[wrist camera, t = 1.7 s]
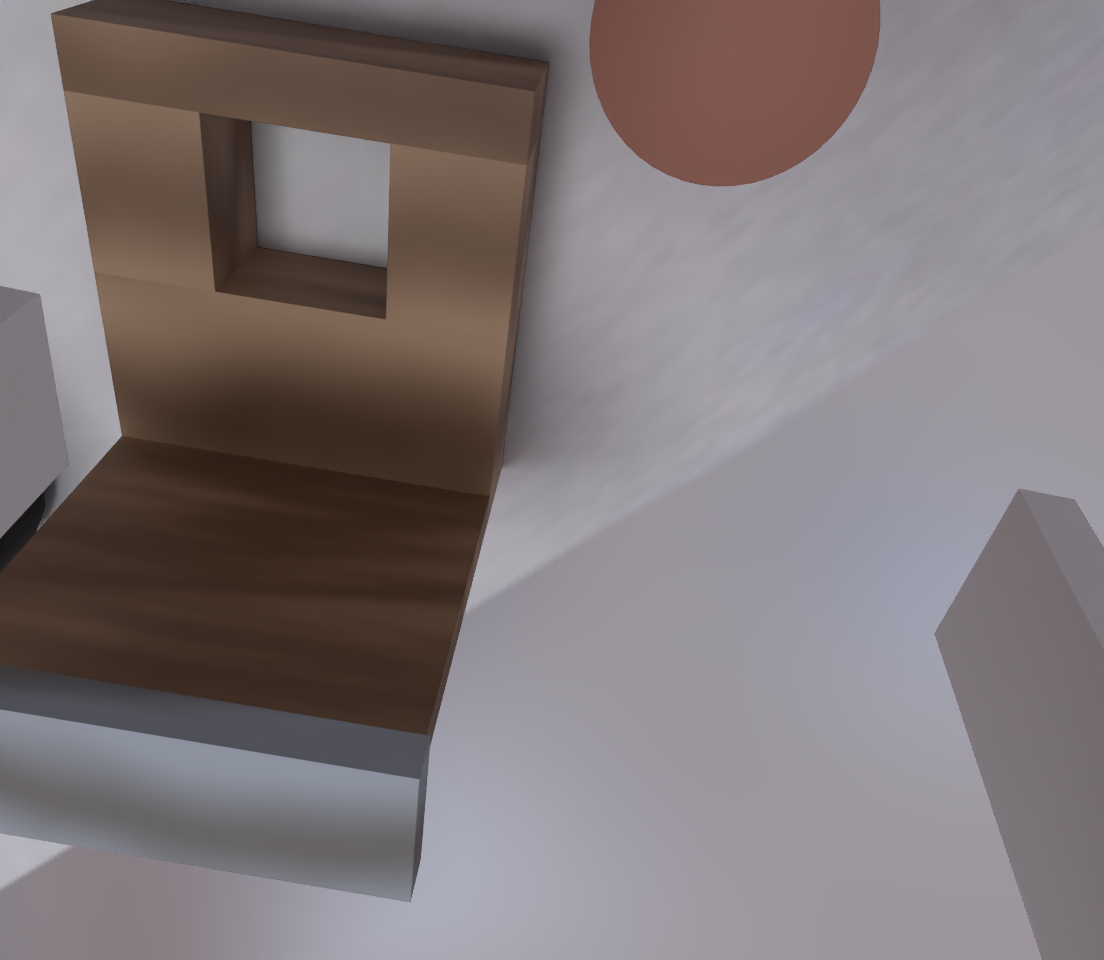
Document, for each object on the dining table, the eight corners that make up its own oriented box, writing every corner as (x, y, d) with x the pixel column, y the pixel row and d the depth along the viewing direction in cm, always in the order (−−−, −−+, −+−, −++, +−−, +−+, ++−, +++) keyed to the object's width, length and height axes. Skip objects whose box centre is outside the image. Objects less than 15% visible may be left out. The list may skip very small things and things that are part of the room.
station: (102, -10, 30) (-516, 173, 14) (564, 64, 30) (452, 331, 14) (160, 413, 39) (-176, 804, 24) (513, 470, 39) (410, 901, 23)
